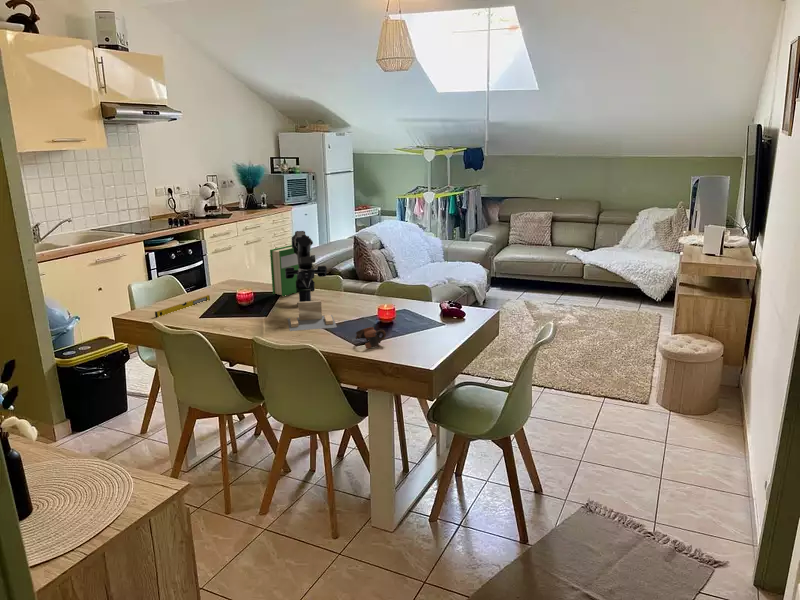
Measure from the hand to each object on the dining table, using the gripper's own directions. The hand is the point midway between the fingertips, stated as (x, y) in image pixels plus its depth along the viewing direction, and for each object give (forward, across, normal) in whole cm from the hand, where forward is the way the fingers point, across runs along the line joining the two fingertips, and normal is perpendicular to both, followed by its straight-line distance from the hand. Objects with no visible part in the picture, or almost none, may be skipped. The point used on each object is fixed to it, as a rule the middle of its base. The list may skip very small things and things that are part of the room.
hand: (307, 287), depth 275 cm
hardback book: (-24, -6, +43) cm, 50 cm away
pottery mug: (+42, +21, -22) cm, 52 cm away
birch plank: (+15, 0, +3) cm, 15 cm away
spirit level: (-11, -58, +31) cm, 66 cm away
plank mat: (+20, 0, 0) cm, 20 cm away
